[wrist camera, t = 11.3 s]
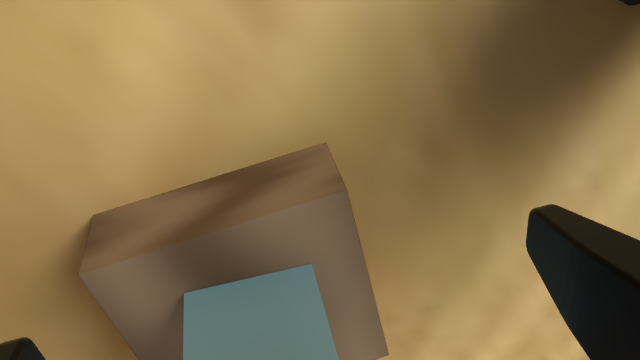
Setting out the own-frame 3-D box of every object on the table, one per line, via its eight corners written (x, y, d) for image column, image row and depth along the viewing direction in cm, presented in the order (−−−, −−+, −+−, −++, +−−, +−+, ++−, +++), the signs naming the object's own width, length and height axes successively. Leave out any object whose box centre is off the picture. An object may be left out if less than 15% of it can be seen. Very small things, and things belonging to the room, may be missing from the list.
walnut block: (323, 137, 22) (346, 190, 19) (365, 293, 28) (388, 354, 25) (95, 209, 22) (78, 275, 19) (184, 352, 28) (184, 422, 24)
